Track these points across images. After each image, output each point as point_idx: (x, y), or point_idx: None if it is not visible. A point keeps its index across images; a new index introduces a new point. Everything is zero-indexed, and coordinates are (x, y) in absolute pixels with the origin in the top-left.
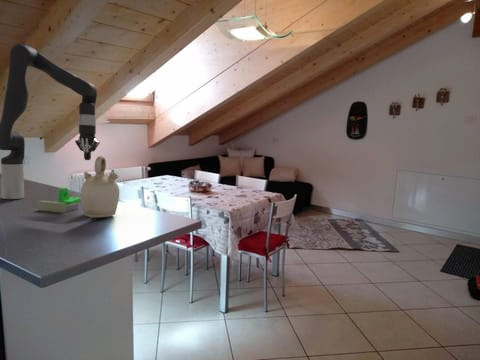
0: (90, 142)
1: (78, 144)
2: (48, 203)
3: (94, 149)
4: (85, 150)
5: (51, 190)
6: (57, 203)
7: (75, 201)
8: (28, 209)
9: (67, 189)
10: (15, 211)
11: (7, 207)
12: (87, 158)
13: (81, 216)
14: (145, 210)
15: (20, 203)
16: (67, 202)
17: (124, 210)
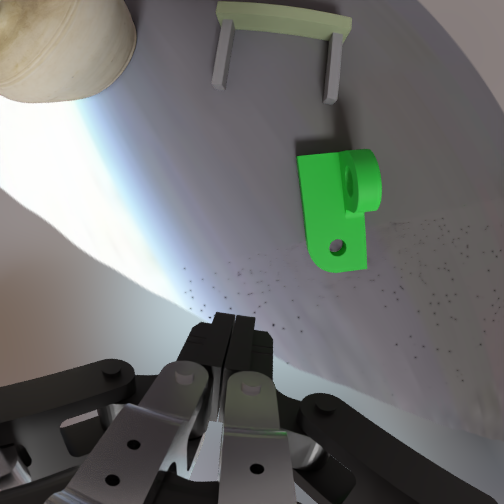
0: (39, 482)
1: (410, 480)
2: (299, 10)
3: (90, 422)
4: (226, 393)
5: (491, 403)
6: (249, 3)
7: (302, 198)
8: (387, 39)
9: (356, 203)
10: (396, 7)
11: (468, 67)
12: (214, 323)
13: (134, 6)
14: (10, 176)
15: (485, 146)
16: (315, 154)
17: (53, 144)
